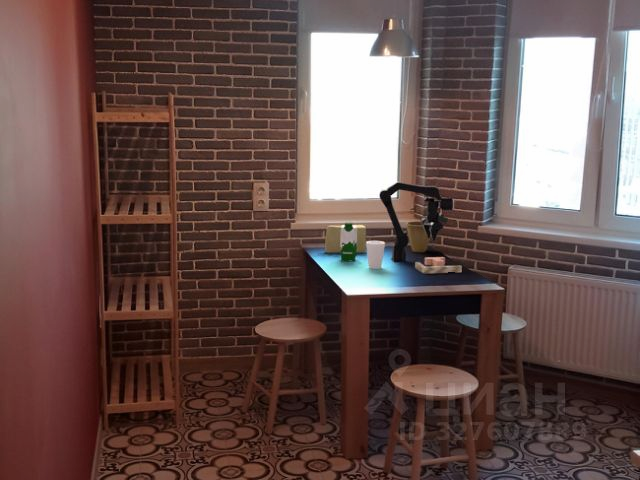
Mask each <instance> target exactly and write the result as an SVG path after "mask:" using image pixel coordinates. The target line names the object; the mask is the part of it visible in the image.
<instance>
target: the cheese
mask: <svg viewBox="0 0 640 480" xmlns="http://www.w3.org/2000/svg"><path fill="white" fill-rule="evenodd" d="M353 226H356V228H357V251H356V254H358V253H359V254H360V253H363V254H364V253H366V250H367V247H366V242H367V228H366V227H367V226H365V225H363V224H353ZM341 227H342V225H328V226H327V227H326V231H325V238H324V239H325V242H324V243H325V244H324V245H325V246H324V247H325V248H324V252H325V253H330V254H331V253H333V254H336V253H340V235H341ZM340 254H341V253H340Z"/></svg>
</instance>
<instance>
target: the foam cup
mask: <svg viewBox="0 0 640 480" xmlns="http://www.w3.org/2000/svg"><path fill="white" fill-rule="evenodd" d="M385 247H386V242H385V241H381V240H366V255H367V264H368V268H369V269H372V270H373V269H374V270H376V269H377V270H378V269H381V268H382V264H383V259H384V251H385Z"/></svg>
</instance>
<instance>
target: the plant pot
mask: <svg viewBox="0 0 640 480" xmlns="http://www.w3.org/2000/svg"><path fill="white" fill-rule="evenodd" d="M406 232H407V235H408V237H409V240H408V242H409V244H410V247H411V251H412V252H413V253H414V252H415V253H425V252H426V251H427V249H428V246H429V243H430V240H431V238H432V237H431V235H430V238H428V237H427V235H426V232H425V230H424V227H423V225H422V223H421V220H418V221H417V220H416V221H415V220H414V221H408V222H406Z"/></svg>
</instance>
